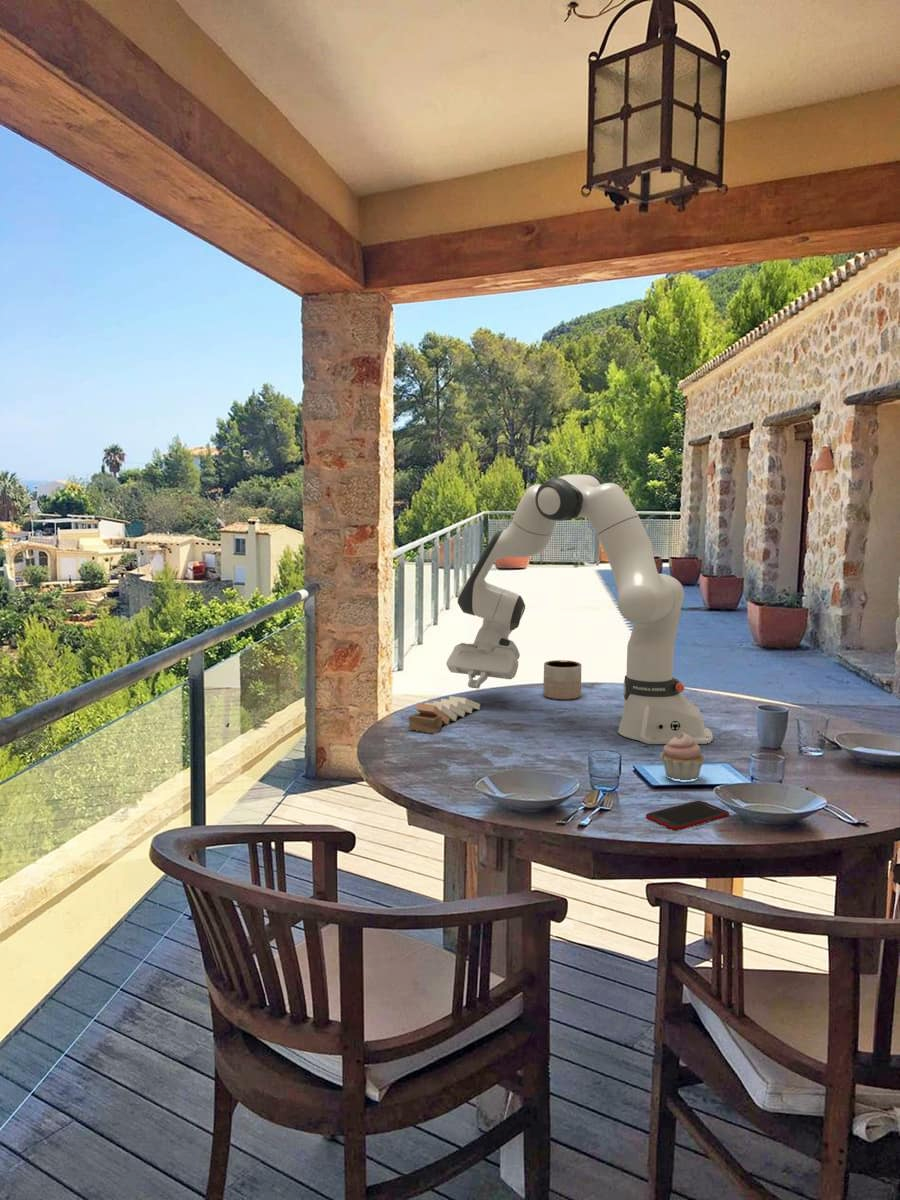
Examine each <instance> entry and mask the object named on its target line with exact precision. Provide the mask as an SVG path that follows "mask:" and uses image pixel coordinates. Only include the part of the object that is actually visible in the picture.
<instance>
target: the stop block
mask: <svg viewBox="0 0 900 1200" xmlns="http://www.w3.org/2000/svg"><path fill="white" fill-rule="evenodd" d="M442 726H443V724H442V716H435V715H428V714H422V713H420V712H416V713H414V714H411V715H409V716H408V730H409V729H411V730H417V731H416V732H418V731H422V732H421V733H424V732H428V733H427V734H430V733H433V734H432V735H434V733H435V734H437V733H439V732H441V731H442V730H443V729H442ZM411 730H410V731H411ZM438 731H439V732H438ZM436 732H437V733H436Z"/></svg>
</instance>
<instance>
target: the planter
mask: <svg viewBox="0 0 900 1200" xmlns="http://www.w3.org/2000/svg"><path fill="white" fill-rule="evenodd" d="M542 686H543V687H542V688H543V689H542V690H543V691H542V693H543V696H544V697H546V698H547V697H548V698H547V699H550V698H552V699H551V700H555V699H559V700H558V701H571V700H570V699H573V700H577V699H579V698H580V697H581V696H582V664H581V662H577V661H573V660H566V659H565V660H564V659H563V660H562V659H561V660H560V659H558V660H549V661H545V662H544V664H543V685H542ZM576 698H577V699H576Z"/></svg>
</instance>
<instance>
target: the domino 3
mask: <svg viewBox="0 0 900 1200" xmlns="http://www.w3.org/2000/svg"><path fill="white" fill-rule="evenodd" d="M432 703H435V704H442V705H444V706H445V707H446V708H448V709H449V710H451V711H452V712H453V713H455V714H456V715H457V718H458V717H460V718H465V715H466V713H465V711H464V710H462V709H460V708H458V707H456V706H454V705H452V704H451V703H444V702H441V701H437V700H433V701H432Z"/></svg>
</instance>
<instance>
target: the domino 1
mask: <svg viewBox="0 0 900 1200" xmlns="http://www.w3.org/2000/svg"><path fill="white" fill-rule="evenodd" d="M415 710H417V712H418V713H422V714H428V715H435V716H442V725H445V724H446V726H449V723H450V719H449V718H448V717H447V716H446V715H445V714H444V713H443V712H442V711H441V710H439V709H438V708H437V707H436V706H434V705H427V704H425V703H419V702H418V703H417V705H416V708H415Z"/></svg>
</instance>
